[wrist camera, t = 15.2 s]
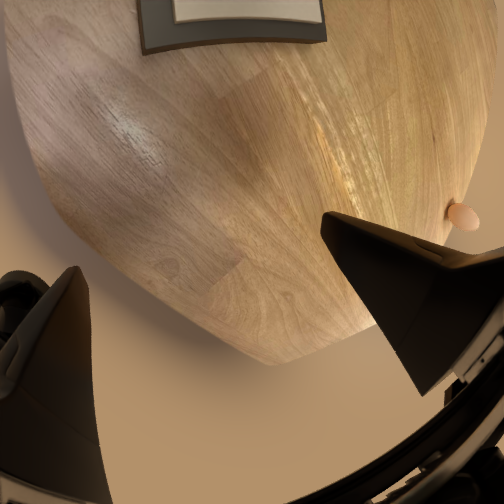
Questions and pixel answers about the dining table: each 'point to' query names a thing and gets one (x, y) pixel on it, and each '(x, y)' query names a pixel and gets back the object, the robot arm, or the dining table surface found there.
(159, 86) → the dining table surface
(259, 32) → the scale
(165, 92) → the dining table surface
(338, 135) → the dining table surface
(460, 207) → the egg
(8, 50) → the dining table surface
